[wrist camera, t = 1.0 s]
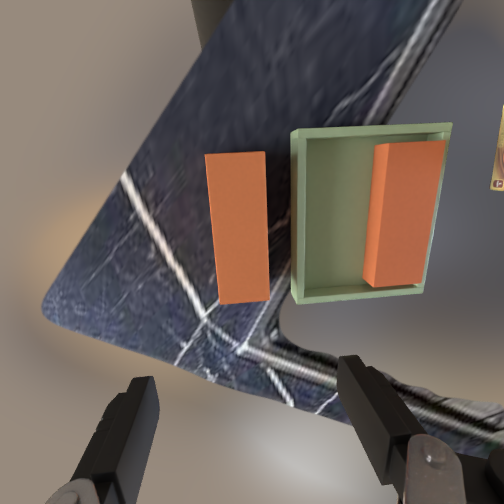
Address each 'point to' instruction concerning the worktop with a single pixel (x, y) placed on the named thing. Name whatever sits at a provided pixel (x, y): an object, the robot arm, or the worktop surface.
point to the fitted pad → (401, 211)
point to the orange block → (239, 225)
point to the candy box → (499, 161)
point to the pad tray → (342, 208)
